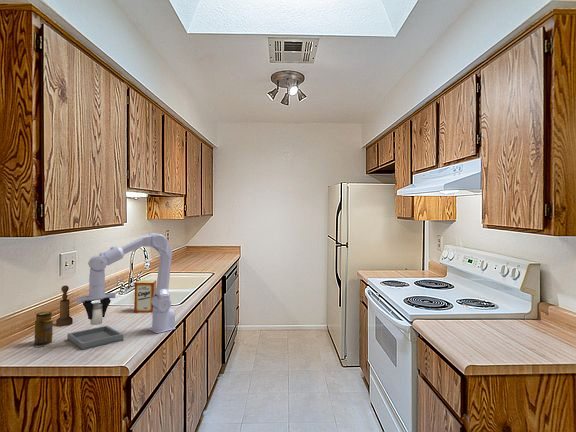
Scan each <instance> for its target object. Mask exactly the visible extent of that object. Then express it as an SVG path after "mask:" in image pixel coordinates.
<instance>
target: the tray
mask: <svg viewBox="0 0 576 432" xmlns="http://www.w3.org/2000/svg"><path fill="white" fill-rule="evenodd" d="M67 341H68V342H70V343H71V344H73V345H74V346H76V347H77V348H79V350H81V351H83V350H87V349H92V348H97V347H101V346H104V345H109V344H113V343H118V342H121V341H124V334H123V333H122V332H119V330H116V329H114V328H113V327H110V326H109V325H103V326H98V327H93V328H88V329H84V330H78V331H74V332H69V333H67Z"/></svg>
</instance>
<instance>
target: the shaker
mask: <svg viewBox="0 0 576 432" xmlns="http://www.w3.org/2000/svg"><path fill="white" fill-rule="evenodd" d="M92 304H93V308H92V319H91V320H90V319H89V320H90V322H89V323H90V325H91V326H97V325H102V324H103V317H102V314H103V303H100V302H93V303H92Z"/></svg>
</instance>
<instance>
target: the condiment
mask: <svg viewBox="0 0 576 432" xmlns="http://www.w3.org/2000/svg"><path fill="white" fill-rule="evenodd" d="M53 320H54V319H53V315H52V311H40V312H38V313H36V318H35V321H34V341H33V340H32V341H30V343H31V345H32V346H34V347H35V348H42V347H47V346H52V345H57V344H58V343H57V342H56V340H54V339H53V325H54V323H53V322H54V321H53Z"/></svg>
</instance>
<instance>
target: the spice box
mask: <svg viewBox="0 0 576 432" xmlns="http://www.w3.org/2000/svg"><path fill="white" fill-rule="evenodd" d="M156 287H157V280H148V279H144V280H143V279H141V280H137V281H135V282H134V303H133V304H134V308H133V310H134V311H133V312H134V314H135V313H136V314H137V313H139V314H140V313H142V314H143V313H147V314H148V313H153V307H154V306H153V305H152V303H151V299H152V297H153V296H154V291H155V290H156Z"/></svg>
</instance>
